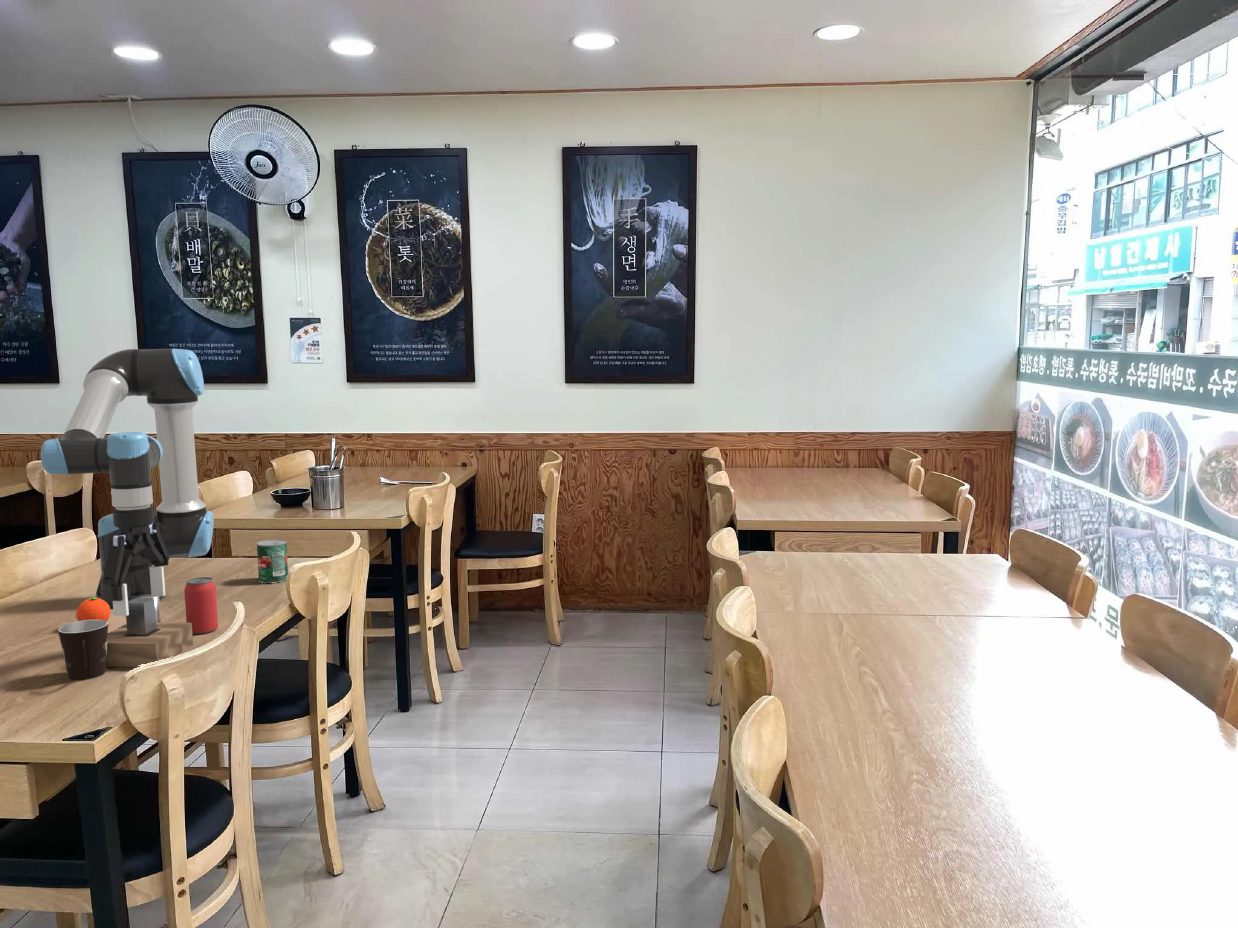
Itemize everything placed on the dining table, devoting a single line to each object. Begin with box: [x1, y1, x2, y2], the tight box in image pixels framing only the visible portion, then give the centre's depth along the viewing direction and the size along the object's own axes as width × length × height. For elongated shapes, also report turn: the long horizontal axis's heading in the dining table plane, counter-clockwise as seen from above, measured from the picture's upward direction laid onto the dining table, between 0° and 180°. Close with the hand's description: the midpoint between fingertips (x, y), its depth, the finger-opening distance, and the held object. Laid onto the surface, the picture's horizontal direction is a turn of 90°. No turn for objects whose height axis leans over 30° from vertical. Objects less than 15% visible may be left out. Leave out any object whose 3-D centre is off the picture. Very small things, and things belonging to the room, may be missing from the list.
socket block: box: [106, 621, 194, 668], centre depth 190 cm, size 14×14×5 cm
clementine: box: [75, 597, 111, 622], centre depth 209 cm, size 8×7×7 cm
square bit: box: [125, 598, 157, 637], centre depth 189 cm, size 4×4×12 cm
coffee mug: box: [57, 620, 109, 681], centre depth 177 cm, size 12×9×10 cm
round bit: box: [139, 594, 162, 622], centre depth 199 cm, size 4×4×10 cm
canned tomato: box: [256, 538, 289, 583], centre depth 251 cm, size 8×8×11 cm
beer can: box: [183, 576, 219, 635], centre depth 206 cm, size 7×7×12 cm
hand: (140, 605), depth 189 cm, fingers open, 13 cm apart
